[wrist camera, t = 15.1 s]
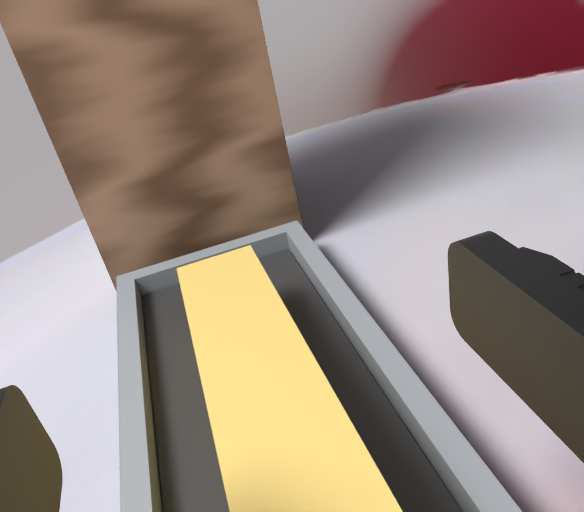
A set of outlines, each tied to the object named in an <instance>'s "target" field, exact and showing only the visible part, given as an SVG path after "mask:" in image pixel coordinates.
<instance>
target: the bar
mask: <svg viewBox="0 0 584 512" xmlns="http://www.w3.org/2000/svg"><path fill="white" fill-rule="evenodd" d="M177 273H178V278H179V282H180V287H181V291H182V296H183V300H184V305H185V310H186V314H187V319H188V323H189V328H190V332H191V337H192V342H193V346H194V351H195V355H196V360H197V364H198V369H199V374H200V378H201V383H202V387H203V392H204V396H205V401H206V406H207V410H208V415H209V419H210V424H211V428H212V433H213V437H214V442H215V447H216V451H217V456H218V460H219V465H220V469H221V474H222V479H223V483H224V488H225V492H226V497H227V501H228V506H229V511H230V512H403V511H402V510H401V508H400V506H399V504H398V503H397V501H396V499H395V497H394V496H393V494H392V492H391V490H390V489H389V487H388V485H387V483H386V482H385V480H384V478H383V476H382V475H381V473H380V471H379V469H378V468H377V466H376V464H375V462H374V461H373V459H372V457H371V455H370V454H369V452H368V450H367V448H366V447H365V445H364V443H363V441H362V440H361V438H360V436H359V434H358V433H357V431H356V429H355V427H354V426H353V424H352V422H351V420H350V419H349V417H348V415H347V413H346V412H345V410H344V408H343V406H342V405H341V403H340V401H339V399H338V398H337V396H336V394H335V392H334V391H333V389H332V387H331V385H330V384H329V382H328V380H327V378H326V377H325V375H324V373H323V371H322V370H321V368H320V366H319V364H318V363H317V361H316V359H315V357H314V356H313V354H312V352H311V350H310V349H309V347H308V345H307V343H306V342H305V340H304V338H303V336H302V335H301V333H300V331H299V329H298V328H297V326H296V324H295V322H294V321H293V319H292V317H291V315H290V314H289V312H288V310H287V308H286V307H285V305H284V303H283V301H282V300H281V298H280V296H279V294H278V293H277V291H276V289H275V287H274V286H273V284H272V282H271V280H270V279H269V277H268V275H267V273H266V272H265V270H264V268H263V266H262V265H261V263H260V261H259V259H258V258H257V256H256V254H255V252H254V251H253V249H252V247H251V245H249V246H246V247H242V248H239V249H236V250H233V251H230V252H227V253H223V254H220V255H217V256H214V257H211V258H208V259H204V260H201V261H198V262H195V263H192V264H188V265H185V266H182V267H179V268H177Z"/></svg>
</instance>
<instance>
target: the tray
mask: <svg viewBox="0 0 584 512" xmlns="http://www.w3.org/2000/svg"><path fill="white" fill-rule="evenodd" d="M249 245H251V247H252V249H253V251H254V252H255V254H256V256H257V258H258V259H259V261H260V263H261V265H262V266H263V268H264V270H265V272H266V273H267V275H268V277H269V279H270V280H271V282H272V284H273V286H274V287H275V289H276V291H277V293H278V294H279V296H280V298H281V300H282V301H283V303H284V305H285V307H286V308H287V310H288V312H289V314H290V315H291V317H292V319H293V321H294V322H295V324H296V326H297V328H298V329H299V331H300V333H301V335H302V336H303V338H304V340H305V342H306V343H307V345H308V347H309V349H310V350H311V352H312V354H313V356H314V357H315V359H316V361H317V363H318V364H319V366H320V368H321V370H322V371H323V373H324V375H325V377H326V378H327V380H328V382H329V384H330V385H331V387H332V389H333V391H334V392H335V394H336V396H337V398H338V399H339V401H340V403H341V405H342V406H343V408H344V410H345V412H346V413H347V415H348V417H349V419H350V420H351V422H352V424H353V426H354V427H355V429H356V431H357V433H358V434H359V436H360V438H361V440H362V441H363V443H364V445H365V447H366V448H367V450H368V452H369V454H370V455H371V457H372V459H373V461H374V462H375V464H376V466H377V468H378V469H379V471H380V473H381V475H382V476H383V478H384V480H385V482H386V483H387V485H388V487H389V489H390V490H391V492H392V494H393V496H394V497H395V499H396V501H397V503H398V504H399V506H400V508H401V510H402V511H403V512H522V511H521V509H520V508H519V507H518V506H517V504H516V503H515V502H514V500H513V499H512V498H511V496H510V495H509V494H508V493H507V491H506V490H505V489H504V487H503V486H502V485H501V484H500V482H499V481H498V480H497V478H496V477H495V476H494V475H493V473H492V472H491V471H490V469H489V468H488V467H487V465H486V464H485V463H484V462H483V460H482V459H481V458H480V456H479V455H478V454H477V453H476V451H475V450H474V449H473V447H472V446H471V445H470V443H469V442H468V441H467V440H466V438H465V437H464V436H463V434H462V433H461V432H460V431H459V429H458V428H457V427H456V425H455V424H454V423H453V421H452V420H451V419H450V418H449V416H448V415H447V414H446V412H445V411H444V410H443V409H442V407H441V406H440V405H439V403H438V402H437V401H436V399H435V398H434V397H433V396H432V394H431V393H430V392H429V390H428V389H427V388H426V387H425V385H424V384H423V383H422V381H421V380H420V379H419V378H418V376H417V375H416V374H415V372H414V371H413V370H412V368H411V367H410V366H409V365H408V363H407V362H406V361H405V359H404V358H403V357H402V356H401V354H400V353H399V352H398V350H397V349H396V348H395V346H394V345H393V344H392V343H391V341H390V340H389V339H388V337H387V336H386V335H385V334H384V332H383V331H382V330H381V328H380V327H379V326H378V324H377V323H376V322H375V321H374V319H373V318H372V317H371V315H370V314H369V313H368V312H367V310H366V309H365V308H364V306H363V305H362V304H361V303H360V301H359V300H358V299H357V297H356V296H355V295H354V293H353V292H352V291H351V290H350V288H349V287H348V286H347V284H346V283H345V282H344V281H343V279H342V278H341V277H340V275H339V274H338V273H337V271H336V270H335V269H334V268H333V266H332V265H331V264H330V262H329V261H328V260H327V259H326V257H325V256H324V255H323V253H322V252H321V251H320V249H319V248H318V247H317V246H316V244H315V243H314V242H313V240H312V239H311V238H310V237H309V235H308V234H307V233H306V231H305V230H304V229H303V227H302V226H301V225H300V224H299V222H298V221H297V220H296V221H293V222H290V223H287V224H283V225H280V226H277V227H274V228H271V229H267V230H264V231H261V232H258V233H255V234H251V235H248V236H245V237H242V238H238V239H235V240H232V241H229V242H226V243H222V244H219V245H216V246H213V247H209V248H206V249H203V250H200V251H197V252H193V253H190V254H187V255H184V256H181V257H177V258H174V259H171V260H168V261H164V262H161V263H158V264H155V265H152V266H148V267H145V268H142V269H139V270H135V271H132V272H129V273H126V274H123V275H119V276H116V284H117V341H118V398H119V454H120V511H121V512H230V511H229V506H228V501H227V497H226V492H225V488H224V483H223V479H222V474H221V469H220V465H219V460H218V456H217V451H216V447H215V442H214V437H213V433H212V428H211V424H210V419H209V415H208V410H207V406H206V401H205V396H204V392H203V387H202V383H201V378H200V374H199V369H198V364H197V360H196V355H195V351H194V346H193V342H192V337H191V332H190V328H189V323H188V319H187V314H186V310H185V305H184V300H183V296H182V291H181V287H180V282H179V278H178V273H177V268H179V267H182V266H185V265H188V264H192V263H195V262H198V261H201V260H204V259H208V258H211V257H214V256H217V255H220V254H223V253H227V252H230V251H233V250H236V249H239V248H242V247H246V246H249Z"/></svg>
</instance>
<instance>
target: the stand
mask: <svg viewBox="0 0 584 512" xmlns="http://www.w3.org/2000/svg"><path fill="white" fill-rule="evenodd" d="M0 23H1V25H2V28H3V30H4V32H5V35H6V37H7V39H8V41H9V44H10V46H11V48H12V51H13V53H14V55H15V58H16V60H17V62H18V65H19V67H20V69H21V71H22V74H23V76H24V78H25V81H26V83H27V85H28V88H29V90H30V92H31V95H32V97H33V99H34V102H35V104H36V106H37V109H38V111H39V113H40V115H41V117H42V120H43V122H44V125H45V127H46V129H47V132H48V134H49V136H50V139H51V141H52V143H53V146H54V148H55V150H56V152H57V155H58V157H59V159H60V162H61V164H62V166H63V168H64V171H65V173H66V176H67V178H68V180H69V182H70V185H71V187H72V189H73V192H74V194H75V196H76V199H77V201H78V203H79V206H80V208H81V210H82V213H83V215H84V217H85V220H86V222H87V224H88V226H89V229H90V231H91V233H92V236H93V238H94V240H95V243H96V245H97V247H98V250H99V252H100V254H101V257H102V259H103V261H104V263H105V266H106V268H107V270H108V273H109V275H110V277H111V280H112V282H113V284H114V287H115V289H116V291H117V284H116V276H119V275H123V274H126V273H129V272H132V271H135V270H139V269H142V268H145V267H148V266H152V265H155V264H158V263H161V262H164V261H168V260H171V259H174V258H177V257H181V256H184V255H187V254H190V253H193V252H197V251H200V250H203V249H206V248H209V247H213V246H216V245H219V244H222V243H226V242H229V241H232V240H235V239H238V238H242V237H245V236H248V235H251V234H255V233H258V232H261V231H264V230H267V229H271V228H274V227H277V226H280V225H283V224H287V223H290V222H293V221H296V220H297V221H298V222H299V224H300V225H301V226H302V221H301V216H300V211H299V206H298V201H297V196H296V191H295V186H294V181H293V176H292V171H291V166H290V161H289V156H288V151H287V146H286V141H285V136H284V132H283V126H282V121H281V117H280V112H279V106H278V101H277V96H276V91H275V87H274V81H273V76H272V71H271V66H270V61H269V56H268V52H267V46H266V41H265V36H264V32H263V26H262V21H261V16H260V11H259V6H258V1H257V0H0ZM302 227H303V226H302Z"/></svg>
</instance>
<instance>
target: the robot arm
mask: <svg viewBox="0 0 584 512" xmlns="http://www.w3.org/2000/svg"><path fill="white" fill-rule="evenodd" d="M448 271H449V293H450V311H451V316H452V319H453V322H454V325H455V327H456V329H457V331H458V333H459V334H460V336H461V337H462V338H463V339H464V341H465V342H466V343H467V344H468V345H469V346H470V347H471V348H472V349H473V350H474V351H475V352H476V353H477V354H478V355H479V356H480V357H481V358H482V359H483V360H484V361H485V362H486V363H487V364H488V365H489V366H490V367H491V368H492V369H493V370H494V371H495V372H496V373H497V374H498V376H499V377H500V378H501V379H502V380H503V381H504V382H505V383H506V384H507V385H508V386H509V387H510V388H511V389H512V390H513V391H514V392H515V393H516V394H517V395H518V396H519V397H520V398H521V399H522V400H523V401H524V402H525V403H526V404H527V405H528V406H529V407H530V408H531V409H532V410H533V411H534V412H535V413H536V415H537V416H538V417H539V418H540V419H541V420H542V421H543V422H544V423H545V424H546V425H547V426H548V427H549V428H550V429H551V430H552V431H553V432H554V433H555V434H556V435H557V436H558V437H559V438H560V439H561V440H562V441H563V442H564V443H565V444H566V445H567V446H568V447H569V448H570V449H571V450H572V451H573V452H574V454H575V455H576V456H577V457H578V458H579V459H580V460H581V461H582V462H583V463H584V275H582V274H580V273H575V271H574V269H572V268H571V267H569V266H568V265H566V264H564V263H563V262H561V261H560V260H558V259H556V258H555V257H553V256H551V255H548V254H545V253H541V252H538V251H535V250H532V249H528V248H525V247H522V248H519V249H518V248H517V247H515V246H514V245H512V244H511V243H509V242H508V241H506V240H505V239H503V238H502V237H500V236H499V235H497V234H496V233H494V232H491V231H487V232H484V233H481V234H478V235H475V236H471V237H468V238H465V239H462V240H459V241H456V242H453V243H452V244H450V246H449V249H448ZM61 490H62V468H61V463H60V459H59V455H58V452H57V450H56V448H55V446H54V444H53V442H52V440H51V439H50V437H49V436H48V434H47V432H46V431H45V429H44V427H43V426H42V424H41V422H40V421H39V419H38V417H37V416H36V414H35V412H34V411H33V409H32V407H31V406H30V404H29V402H28V401H27V399H26V397H25V396H24V394H23V393H22V391H21V390H20V389H19V388H18V387H16V386H14V385H11V386H8V387H5V388H2V389H0V512H59V508H60V499H61Z"/></svg>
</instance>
